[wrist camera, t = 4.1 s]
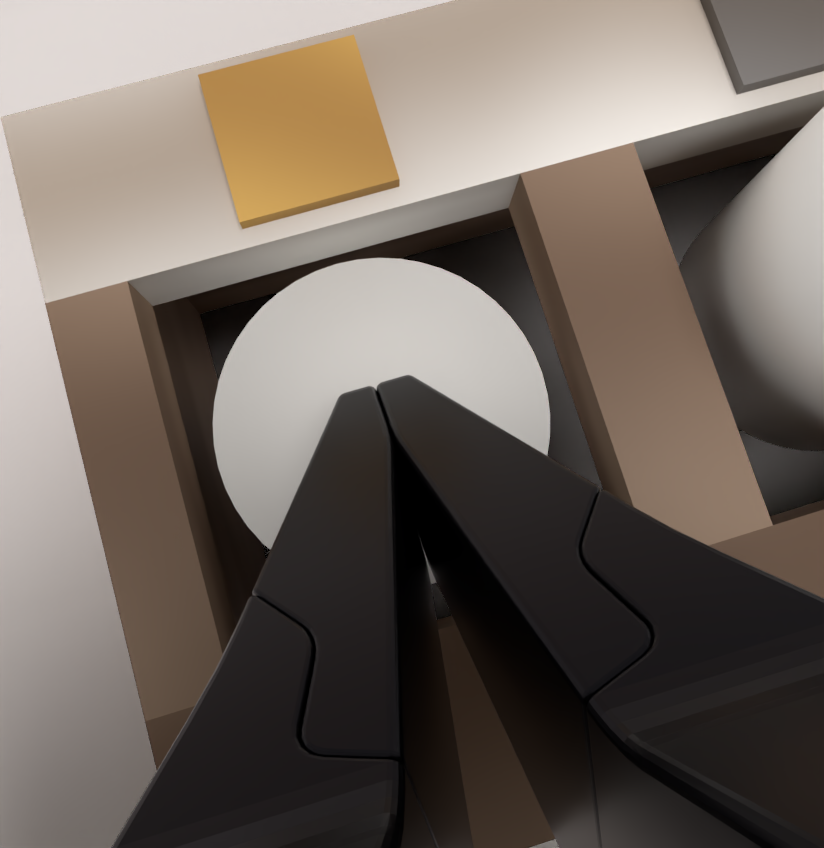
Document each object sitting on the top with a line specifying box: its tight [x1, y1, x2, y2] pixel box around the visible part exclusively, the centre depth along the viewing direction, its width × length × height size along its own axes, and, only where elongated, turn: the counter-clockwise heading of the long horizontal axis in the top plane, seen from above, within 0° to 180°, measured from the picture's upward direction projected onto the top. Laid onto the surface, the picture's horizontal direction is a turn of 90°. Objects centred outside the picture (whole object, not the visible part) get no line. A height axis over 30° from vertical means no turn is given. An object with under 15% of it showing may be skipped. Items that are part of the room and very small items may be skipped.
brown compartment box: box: [1, 0, 824, 848], centre depth 13 cm, size 10×20×7 cm, turn 107°
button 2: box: [213, 258, 550, 584], centre depth 11 cm, size 4×4×4 cm
